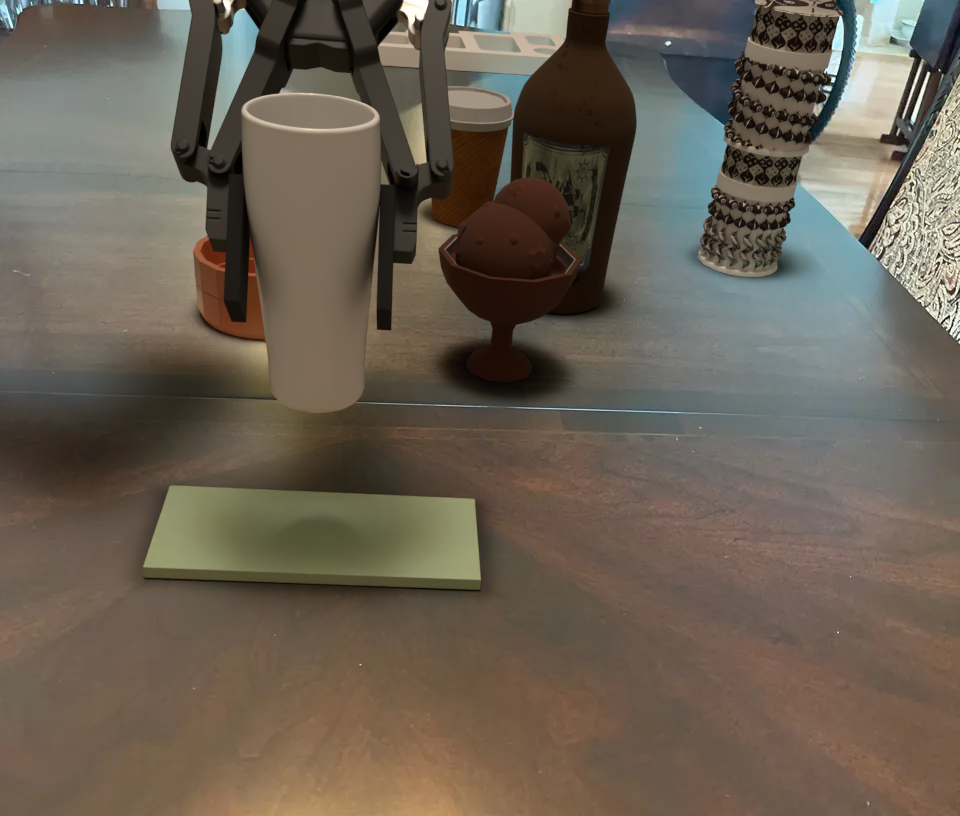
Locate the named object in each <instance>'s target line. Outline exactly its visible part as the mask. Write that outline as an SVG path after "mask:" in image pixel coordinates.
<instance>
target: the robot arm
mask: <svg viewBox="0 0 960 816" xmlns="http://www.w3.org/2000/svg"><path fill="white" fill-rule="evenodd" d="M188 4H189V10H190V14H191V18H190V24H189V30H188V36H187V42H186V46H185V47H186V49H185V54H184V60H183V65H182V66H183V67H182V71H181V79H180V86H179V90H178V96H177V102H176V109H175V115H174V120H173V128H172V133H171V140H170V151H171V153H172V156H173V158H174V161H175V164H176V167H177V170H178V172H179V175H180V176H181V178H182V179H183V181H184V182H187V183H199V184H202V185H203V186H205V187H207V188H206V205H205V206H206V207H205V208H206V209H205V210H206V211H205V226H204V227H205V228H204V230H205V233H206V236H207V235H208V238H209V241H210V244H211V246H212V249H213V252H226V258H225V280H224V303H225V306H226V308H227V311H228V314H229V316H230V319H231V321H232V322H246V318H247V294H248V271H249V247H250V230H249V223H248V216H247V208H246V200H245V190H244V178H243V162H242V129H241V109H242V107H243V105H244V104H245V103H246V102H248V101H250V100H252V99H254V98H257V97H261V96H266V95H272V94H281V91H282V89H285V88H286V86H287V84H288V83H289V80H290V78H291V76H292V74H293V71H294V70H301V71H302V70H303V71H308V70H312V69H319V68H323V69H324V70H328V71H331V72H334V73H343V74H349V75H350V77H351V80H352V83H353V86H354V89H355V92H356V94H358V96H359V99H360V102H362V103H365V104H367V105H369V106H371V107H372V108H374V109H375V110H376V111H377V112H378V113H379V116H380V137H381V165H382V167H383V170H384V173H385V176H386V179H387V182H388V184H386V183H385V184H383V183H381V189H380V208H379V220H378V244H377V245H378V248H377V284H376V330H377V331H389V332H390V331H392V321H393V285H394V283H393V282H394V264H403V265H412V264H413V262H414V260H415V258H416V256H417V240H418V209H419V206H420V205H421V204H422V203H423V202H425V201H427V200H429V199H431V198H433V197H434V198H436V199H440V200H441V199H445V198H447V197H448V196H449V195H450V193H451V187H452V180H453V170H454V157H453V145H452V133H451V122H450V110H449V98H448V86H449V85H448V75H447V70H446V63H445V49H446V45H447V42H448V39H449V33H450V30H451V20H452V8H453V0H188ZM243 9H244V11H245V12H246V13H247V15H248V17H250V19H251V21H252V22H253V23H254V25H255V27H256V28H257V29H258V32H257V34H256V37H255V45H254V50H253V52H252V55H251V57H250V59H249V62H248V64H247V66H246V68H245V70H244V73H243V76H242V78H241V79H240V82H239V85H238V87H237V88H236V91H235V94H234V96H233V98H232V101H231V102H230V104H229V107H228V109H227V112H226V114H225V116H224V118H223V121H222V123H221V125H220V127H219V130H218V132H217V134H216V137H215V139H214V141H213V143H212V146H211V148H210V149H209V147H208V146H209V140H210V133H211V127H212V123H213V122H212V121H213V116H214V109H215V102H216V97H217V91H218V85H219V78H220V72H221V66H222V58H223V51H224V49H223V37H222V35H223V36H224V35H228V34H229V33H230V31H231V29H232V27H233V26H234V22H235V15H236V14H237V12H239V11H240V10H243ZM398 23H401V24H403V25H404V26H405V28H406V30H408V39H409V42H410V43H411V44H412V45H413V46H414V48H415V49H416V50H419V51H420V56H419V68H418V78H419V90H420V91H419V92H420V103H421V110H422V111H421V113H422V123H423V124H422V126H423V138H424V150H425V161H426V162H422V163H416V161H415V159H414V156H413V152H412V150H411V146H410V143H409V141H408V138H407V135H406V132H405V129H404V127H403V123H402V121H401V117H400V114H399V112H398V109H397V105H396V102H395V100H394V97H393V94H392V90H391V88H390V85H389V82H388V79H387V76H386V73H385V70H384V66H383V65H382V64H381V61H380V57H379V51H378V46H379V45H380V43H381V42H382V41H383V40H384V39H385V38H386V36H387V35H388V34H389V33H390V32H391V31H392V30H394V28H395V27H396V26H397V25H398Z"/></svg>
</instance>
